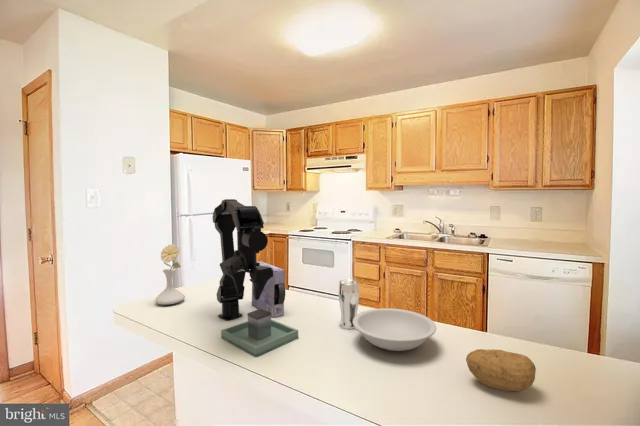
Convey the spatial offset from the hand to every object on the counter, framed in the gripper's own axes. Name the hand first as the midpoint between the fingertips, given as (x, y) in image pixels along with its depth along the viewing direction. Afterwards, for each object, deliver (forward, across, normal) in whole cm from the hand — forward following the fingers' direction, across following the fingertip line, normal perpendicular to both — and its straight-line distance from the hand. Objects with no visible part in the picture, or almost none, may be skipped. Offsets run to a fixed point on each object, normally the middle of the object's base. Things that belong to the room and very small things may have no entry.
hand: (248, 296), depth 100 cm
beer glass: (+13, +18, +28) cm, 36 cm away
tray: (+13, +3, +2) cm, 13 cm away
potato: (+13, +65, +23) cm, 70 cm away
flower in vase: (+13, -52, -2) cm, 54 cm away
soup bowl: (+13, +36, +26) cm, 46 cm away
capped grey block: (+12, +3, +2) cm, 13 cm away
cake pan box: (+13, -14, +19) cm, 27 cm away
